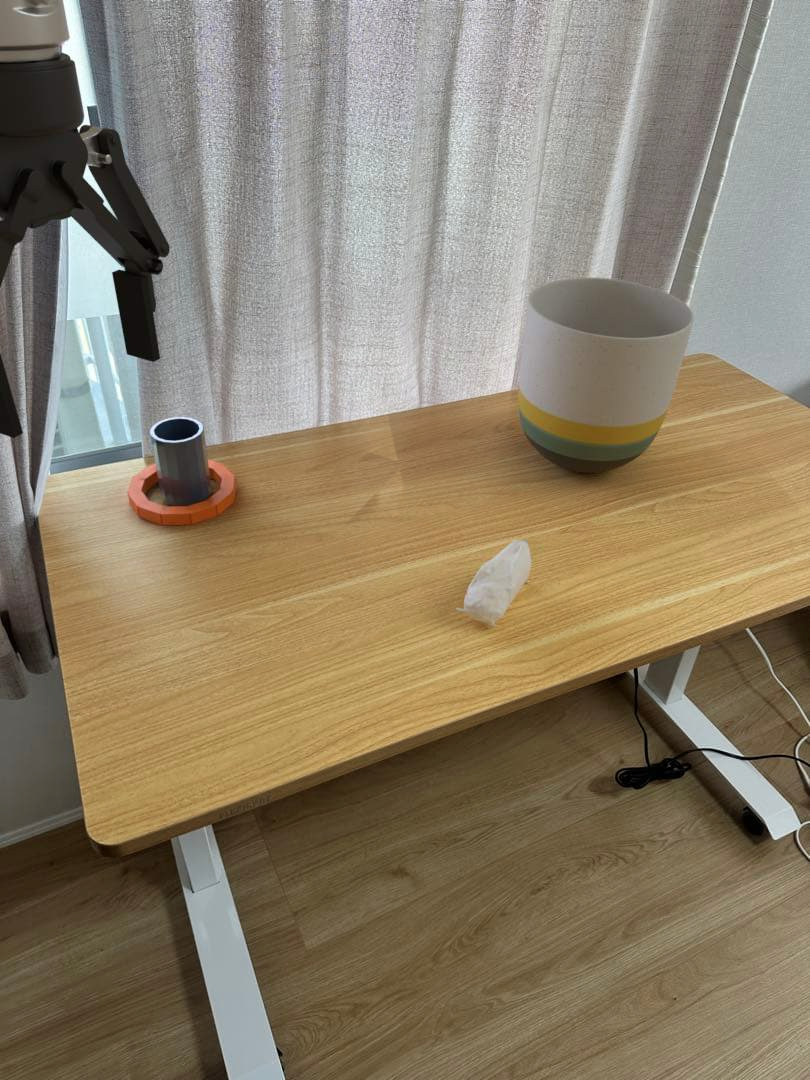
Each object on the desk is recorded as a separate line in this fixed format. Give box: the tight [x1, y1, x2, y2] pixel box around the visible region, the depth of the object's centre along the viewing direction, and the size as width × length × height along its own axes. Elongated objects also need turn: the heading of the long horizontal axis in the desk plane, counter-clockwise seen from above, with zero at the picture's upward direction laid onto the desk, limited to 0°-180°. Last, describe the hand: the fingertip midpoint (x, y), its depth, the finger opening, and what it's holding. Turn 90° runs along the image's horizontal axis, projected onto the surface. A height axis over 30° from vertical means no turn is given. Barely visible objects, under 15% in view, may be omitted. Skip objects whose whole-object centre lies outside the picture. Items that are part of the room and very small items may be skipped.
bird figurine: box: [455, 537, 532, 628], centre depth 84 cm, size 5×7×10 cm
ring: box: [126, 459, 237, 526], centre depth 98 cm, size 12×12×2 cm
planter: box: [517, 277, 695, 474], centre depth 103 cm, size 20×20×21 cm
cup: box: [149, 416, 212, 506], centre depth 96 cm, size 6×6×9 cm
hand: (79, 391), depth 58 cm, fingers open, 13 cm apart
